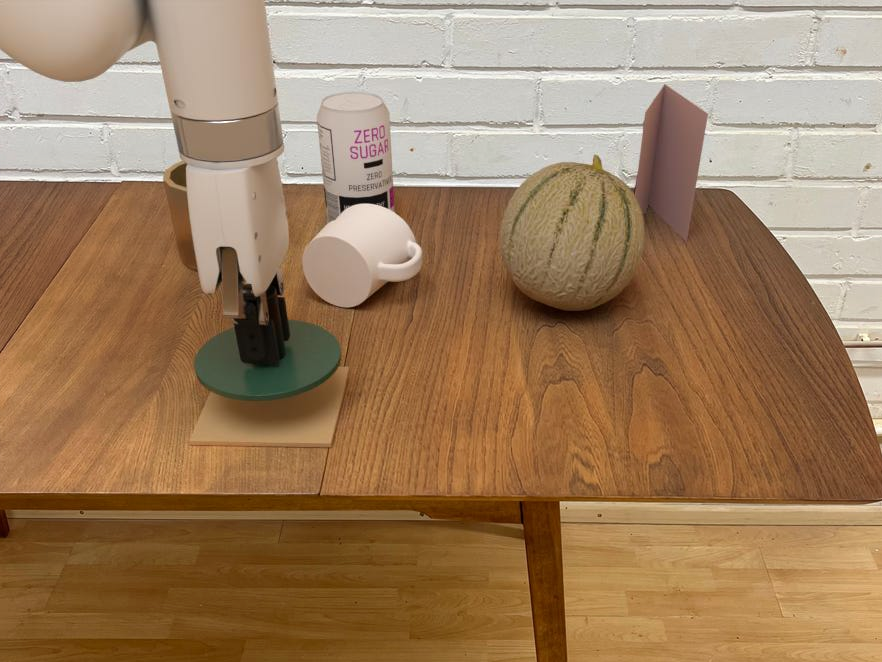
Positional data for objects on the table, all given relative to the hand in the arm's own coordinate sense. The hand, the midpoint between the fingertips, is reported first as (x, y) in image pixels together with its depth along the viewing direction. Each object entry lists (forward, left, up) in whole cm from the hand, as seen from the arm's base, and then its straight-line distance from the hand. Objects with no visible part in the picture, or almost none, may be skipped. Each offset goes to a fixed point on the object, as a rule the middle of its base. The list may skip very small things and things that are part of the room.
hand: (266, 348), depth 76 cm
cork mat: (0, 0, -6) cm, 6 cm away
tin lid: (0, 0, -1) cm, 1 cm away
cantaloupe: (+32, -12, -6) cm, 35 cm away
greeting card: (+56, -12, -6) cm, 58 cm away
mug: (+22, +7, -6) cm, 24 cm away
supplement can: (+34, +18, -6) cm, 39 cm away
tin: (+20, +26, -6) cm, 33 cm away
